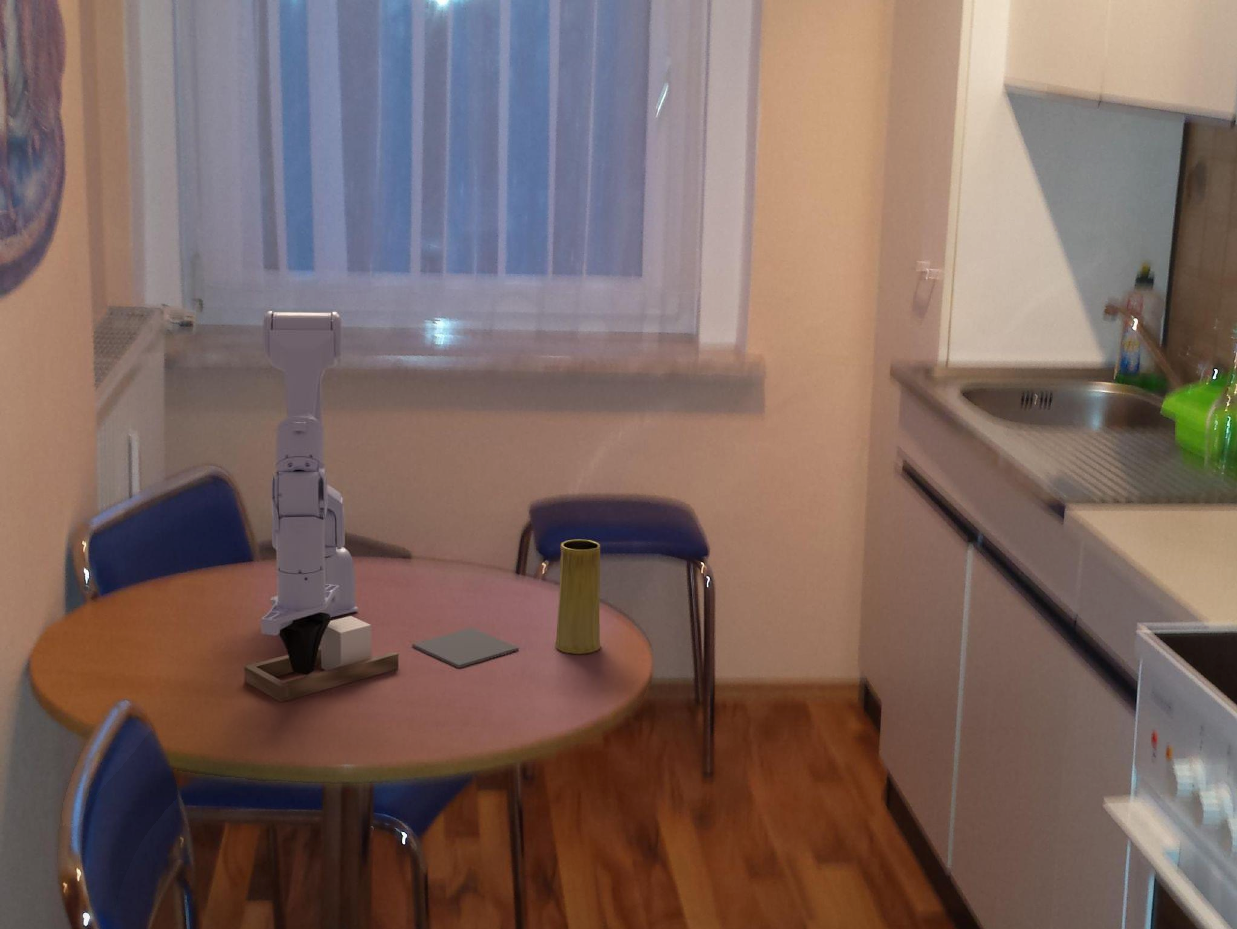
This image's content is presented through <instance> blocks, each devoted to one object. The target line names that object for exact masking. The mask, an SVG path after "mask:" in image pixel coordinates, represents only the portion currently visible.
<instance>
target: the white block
mask: <svg viewBox="0 0 1237 929" xmlns="http://www.w3.org/2000/svg"><path fill="white" fill-rule="evenodd" d="M320 646H321V664H320V666H321V669H323V670H324V671H325V670H329V669H333V668H336V667H340V666H344V665H347V664H351V663H354V662H358V661H362V660H365V659H369V658H372V624H369V623H368V622H365V621H364V620H360V619H359V618H356V617H354V616H352V615H348V616H345V617H342V618H337V619H333V620H330V623H329V624H328V626H327V628H326V630H325V632H324V634H323V636H322V639H321V642H320Z"/></svg>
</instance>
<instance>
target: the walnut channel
mask: <svg viewBox="0 0 1237 929" xmlns="http://www.w3.org/2000/svg"><path fill="white" fill-rule="evenodd" d="M319 665H320V666H321V645H319V649H318V653H317V657H316V661H315V665H314V667H316V666H319ZM398 669H399V653H398V652H396V651H392V652H388V653H385V654H384V653H383V654H380V655H376V656H374V657H371V658H369V659H365V660H362V661H358V662H354V663H351V664H347V665H344V666H340V667H336V668H333V669H329V670H325V669H324V670H323V671H319V672H316V673H312V674H311V673H310V674H308V675H304V676H300V677H297V678H293V679H289V680H286V681H282V680H281V679H279V678H277V677H279V676H283V675H286V674H289V673H294V672H293V669H292V666H291V662H290V659H289V656H288V654H286V655H282V656H278V657H274V658H271V659H267V660H262V661H258V662H255V663H251V664H248V665H244V666H243V671H244V672H243V673H244V674H243V675H244V676H243V677H244V682H245V683H246V684H248V685H250V686H252V687H253V688H255V689H257V690H259V691H261V692H262V693H265V694H266V695H268V696H270V697H271V698H273V699H275V700H276V701H279V702H280V703H283V702H287V701H290V700H293V699H297V698H300V697H304V696H307V695H311V694H315V693H318V692H322V691H325V690H328V689H332V688H336V687H339V686H342V685H346V684H350V683H353V682H357V681H360V680H364V679H367V678H371V677H375V676H377V675H381V674H385V673H388V672H391V671H395V670H398Z"/></svg>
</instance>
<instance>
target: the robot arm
mask: <svg viewBox="0 0 1237 929" xmlns="http://www.w3.org/2000/svg"><path fill="white" fill-rule="evenodd" d="M341 319H342V318H341V315H340V314H339V313H338V311H332V312H294V311H293V312H288V311H287V312H282V311H281V312H280V311H279V312H278V311H277V312H275V311H274V312H273V311H271V310H270V311H269V310H268V311H267V313H265V315H263V325H262V326H263V327H262V330H263V331H262V332H263V334H262V335H263V337H262V338H263V340H262V341H263V352H264V356H265V357H266V359H267V361H268V362H269V364H270V366H272V367H273V368H275V369H277V370H279V371H282V372H283V379H284V380H283V381H284V391H285V406H286V407H285V408H286V417H285V418H283V419H282V420H281V421H280V422H279V423H278V425H277V427H276V446H275V448H276V449H275V475H272V476H271V481H270V509H271V541H272V542H271V544H272V547H273V549H275V551H276V582H277V583H276V584H277V586H276V588H277V595H276V596H273V597H271V598H270V600H269V601H270V605H271V606H272V607H271V608H270V610H269V611H268V612H267V614H265V615H264V616H263V617H261V618H260V622H261V623H260V624H261V626H260V629H261V630H260V631H261V634H263V635H268V636H275V637H276V636H278V635H279V637H280V639H281V640H282V642H283V644H284V647H285V649H286V653H287V655H288V656H289V659H290V662H291V666H292V669H293V672H292V673H294V674H299V675H304V676H307V675H311V673H312V672H314V668H315V666H314V665H315V661H316V657H317V653H318V649H319V647H320V646H321V639H322V636H323V634H324V632H325V630H326V628H327V626H328V624H329V623H330V621H331V618H334V617H338V616H343V615H347V614H351V613H354V612H358V611H359V607H357V606H356V599H355V598H356V597H355V596H356V595H355V594H356V593H355V591H356V590H355V587H356V586H355V564H354V560H353V557H352V555H351V552H349V550H348V549H346V548H345V542H346V541H345V537H346V536H345V535H346V534H345V508H344V498H343V496H342V494H341V493H340V492H339V491H338V490H337V489H335V488H334V487H332V486H331V485H329V484H328V477H327V473H326V466H325V428H324V426H323V410H322V408H323V405H322V402H323V401H322V398H323V397H322V381H323V379H324V378H323V377H324V375H325V373H326V371H327V370H328V369H331V368H335V367H337V366H339V362H341V356H342V320H341Z"/></svg>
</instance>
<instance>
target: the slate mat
mask: <svg viewBox="0 0 1237 929" xmlns="http://www.w3.org/2000/svg"><path fill="white" fill-rule="evenodd" d="M411 646H412V647H413V648H414V649H417V650H419V651H421V652H423V653H425V654H427V655H429V656H431V657H434V658H436V659H438V660H440V659H441V661H443V662H445V663H447V664H449V665H451V666H454V667H455V668H458V669H460V667H461V668H463V667H467V666H469V665H470V664H471V665H474V664H476V663H477V662H478V663H480V662H483V661H487V660H486V659H488V660H490V659H489V658H491V659H494V658H493V657H495V656H498V657H500V656H499V655H501V656H503V654H505V653H508V654H510V653H509V652H511V653H514V652H513V651H515V652H517V651H516V650H518V651H519V650H520V649H519V647H518V646H516V645H515V644H511V643H509V642H507V641H504V640H502V639H500V638H497V637H495V636H492V635H490V634H488V633H485V632H483V631H480V630H478V629H476V628H473V627H469V628H464V629H460V630H458V631H454V632H451V633H448V634H443V635H439V636H435V637H433V638H429V639H424V640H421V641H418V642H413V643H412V644H411ZM505 655H506V654H505ZM495 658H496V657H495ZM478 663H477V664H478Z"/></svg>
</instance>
